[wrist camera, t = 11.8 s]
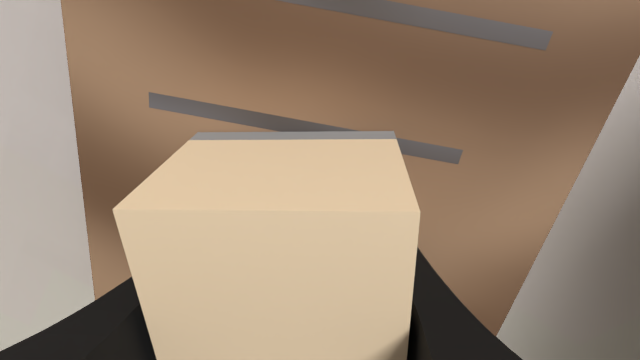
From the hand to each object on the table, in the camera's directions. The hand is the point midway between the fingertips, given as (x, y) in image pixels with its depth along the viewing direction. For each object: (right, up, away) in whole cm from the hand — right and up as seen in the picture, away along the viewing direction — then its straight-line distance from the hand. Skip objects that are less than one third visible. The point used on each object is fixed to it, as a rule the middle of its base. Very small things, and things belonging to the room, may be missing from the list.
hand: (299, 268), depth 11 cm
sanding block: (0, 0, +1) cm, 1 cm away
